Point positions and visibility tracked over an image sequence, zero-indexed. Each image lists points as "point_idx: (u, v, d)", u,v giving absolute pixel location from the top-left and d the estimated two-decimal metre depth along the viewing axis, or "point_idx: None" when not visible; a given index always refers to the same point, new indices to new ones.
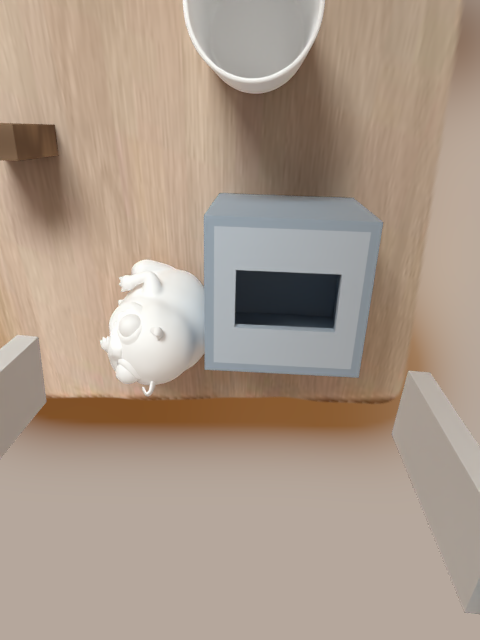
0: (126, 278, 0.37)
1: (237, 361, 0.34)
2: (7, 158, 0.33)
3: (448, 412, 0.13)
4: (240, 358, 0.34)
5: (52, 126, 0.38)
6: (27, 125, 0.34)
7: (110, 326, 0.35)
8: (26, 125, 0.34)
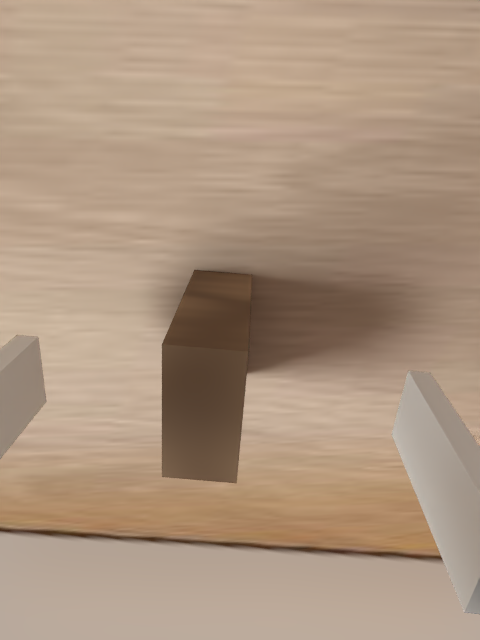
0: None
1: None
2: (241, 374, 0.13)
3: (448, 412, 0.13)
4: None
5: (196, 273, 0.19)
6: (177, 313, 0.15)
7: None
8: (176, 315, 0.15)
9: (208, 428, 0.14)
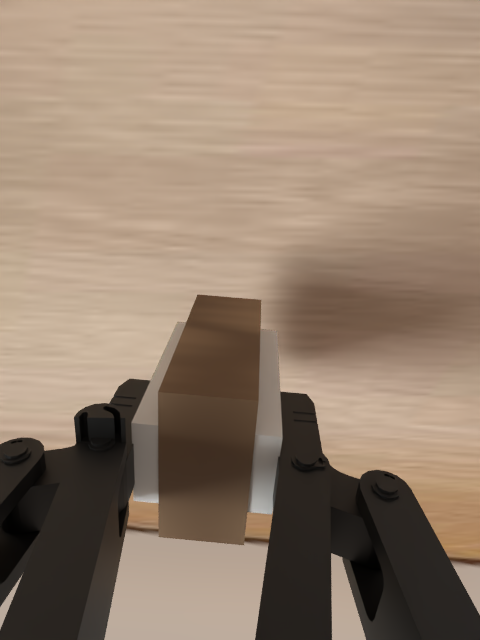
0: None
1: None
2: (250, 426, 0.11)
3: (271, 358, 0.15)
4: None
5: (199, 298, 0.17)
6: (177, 350, 0.13)
7: None
8: (176, 353, 0.13)
9: (211, 485, 0.12)
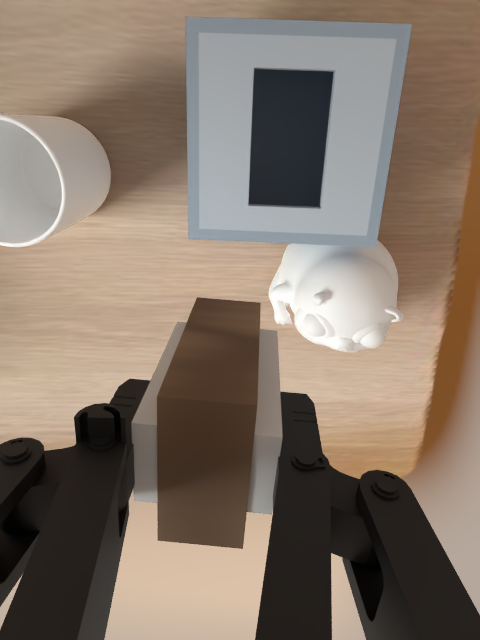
0: (276, 317, 0.35)
1: (368, 205, 0.27)
2: (249, 430, 0.11)
3: (271, 358, 0.15)
4: (363, 202, 0.27)
5: (198, 301, 0.17)
6: (176, 354, 0.13)
7: (318, 343, 0.33)
8: (175, 356, 0.13)
9: (211, 488, 0.12)
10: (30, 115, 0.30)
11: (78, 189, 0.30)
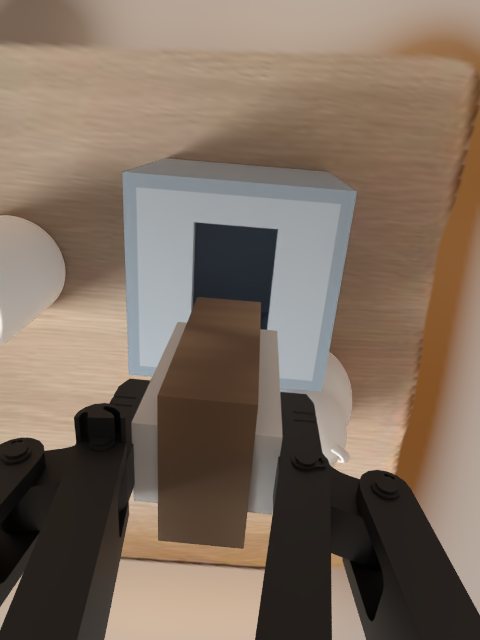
0: None
1: (313, 353, 0.26)
2: (249, 430, 0.11)
3: (270, 358, 0.15)
4: (308, 350, 0.26)
5: (199, 301, 0.17)
6: (177, 353, 0.13)
7: None
8: (175, 356, 0.13)
9: (211, 488, 0.12)
10: None
11: (20, 309, 0.29)
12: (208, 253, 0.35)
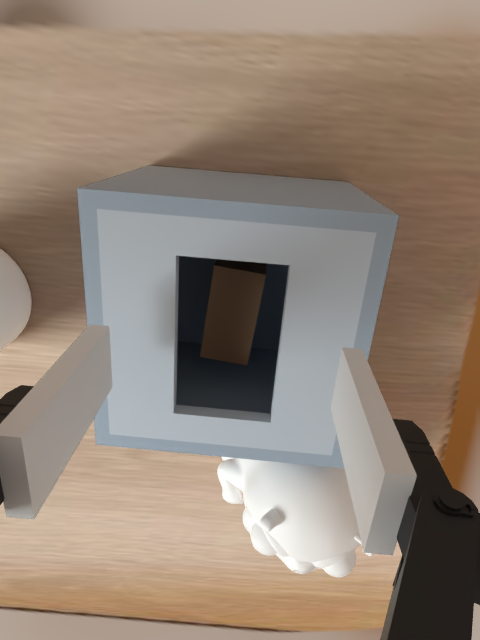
0: (224, 496, 0.28)
1: None
2: (260, 289, 0.21)
3: (368, 381, 0.14)
4: (328, 418, 0.20)
5: None
6: None
7: None
8: None
9: (234, 324, 0.22)
10: None
11: None
12: (201, 280, 0.29)
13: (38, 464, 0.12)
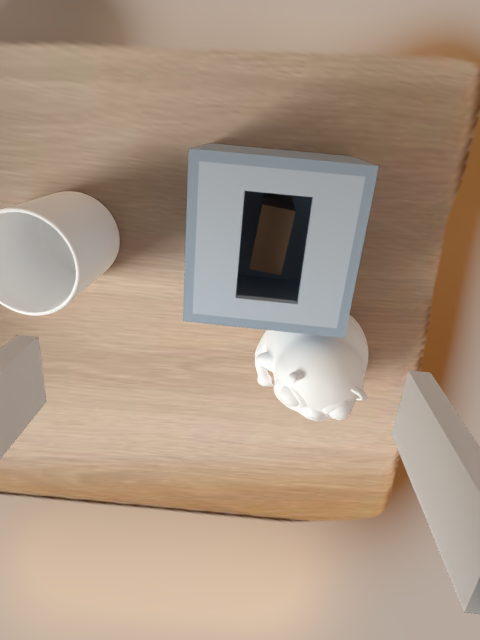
0: (259, 380, 0.40)
1: (338, 304, 0.31)
2: (291, 221, 0.32)
3: (448, 412, 0.13)
4: (334, 301, 0.31)
5: None
6: (263, 200, 0.34)
7: (293, 409, 0.37)
8: (263, 200, 0.34)
9: (273, 245, 0.33)
10: (52, 200, 0.35)
11: (90, 267, 0.35)
12: (245, 226, 0.40)
13: None
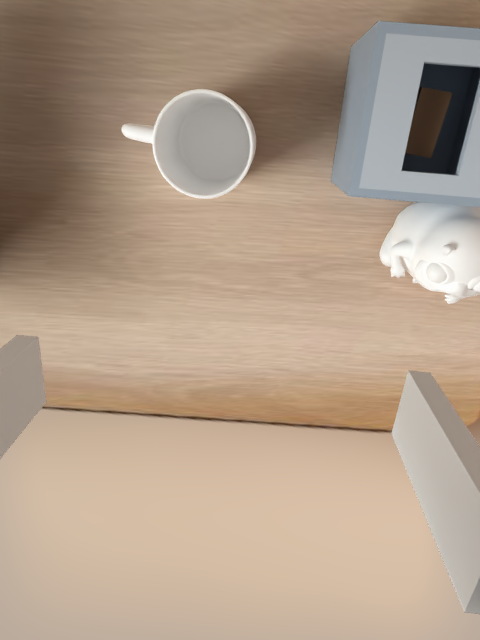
0: (393, 270, 0.43)
1: None
2: (447, 103, 0.36)
3: (448, 412, 0.13)
4: None
5: None
6: None
7: (434, 290, 0.40)
8: None
9: (427, 128, 0.36)
10: None
11: (253, 154, 0.38)
12: None
13: None
